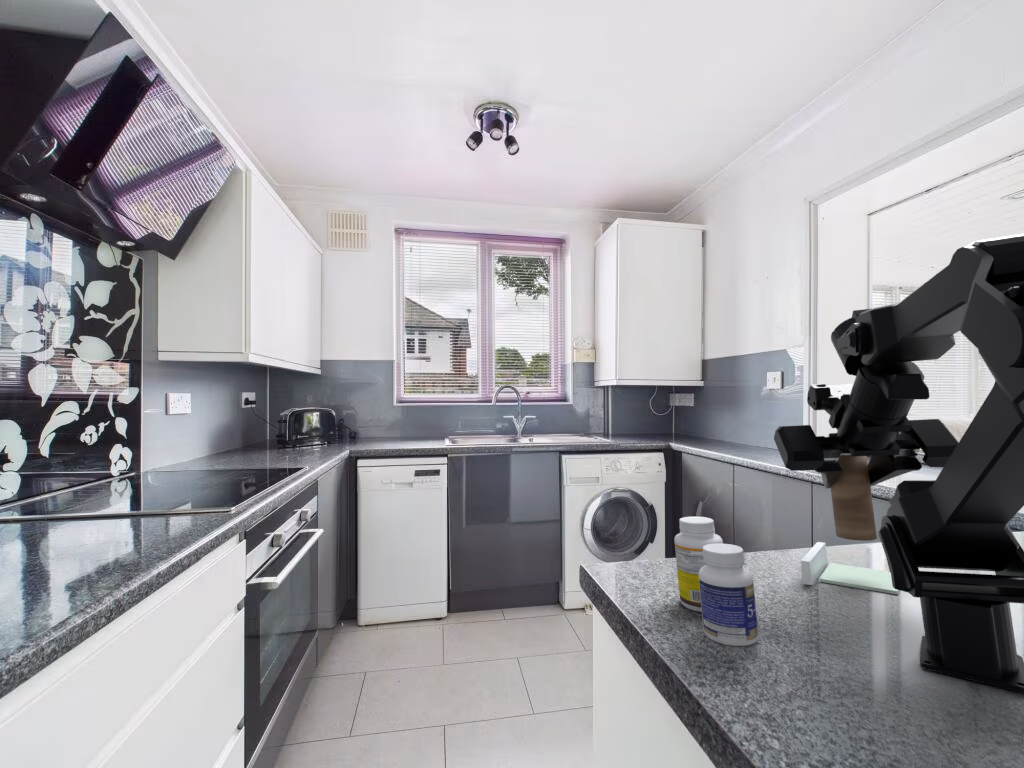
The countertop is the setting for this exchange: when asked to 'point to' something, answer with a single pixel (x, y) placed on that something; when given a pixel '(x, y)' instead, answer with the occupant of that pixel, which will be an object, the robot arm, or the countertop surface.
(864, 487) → the pepper mill
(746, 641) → the pill bottle
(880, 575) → the coaster
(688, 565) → the supplement bottle
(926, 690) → the countertop surface
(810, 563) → the rail
